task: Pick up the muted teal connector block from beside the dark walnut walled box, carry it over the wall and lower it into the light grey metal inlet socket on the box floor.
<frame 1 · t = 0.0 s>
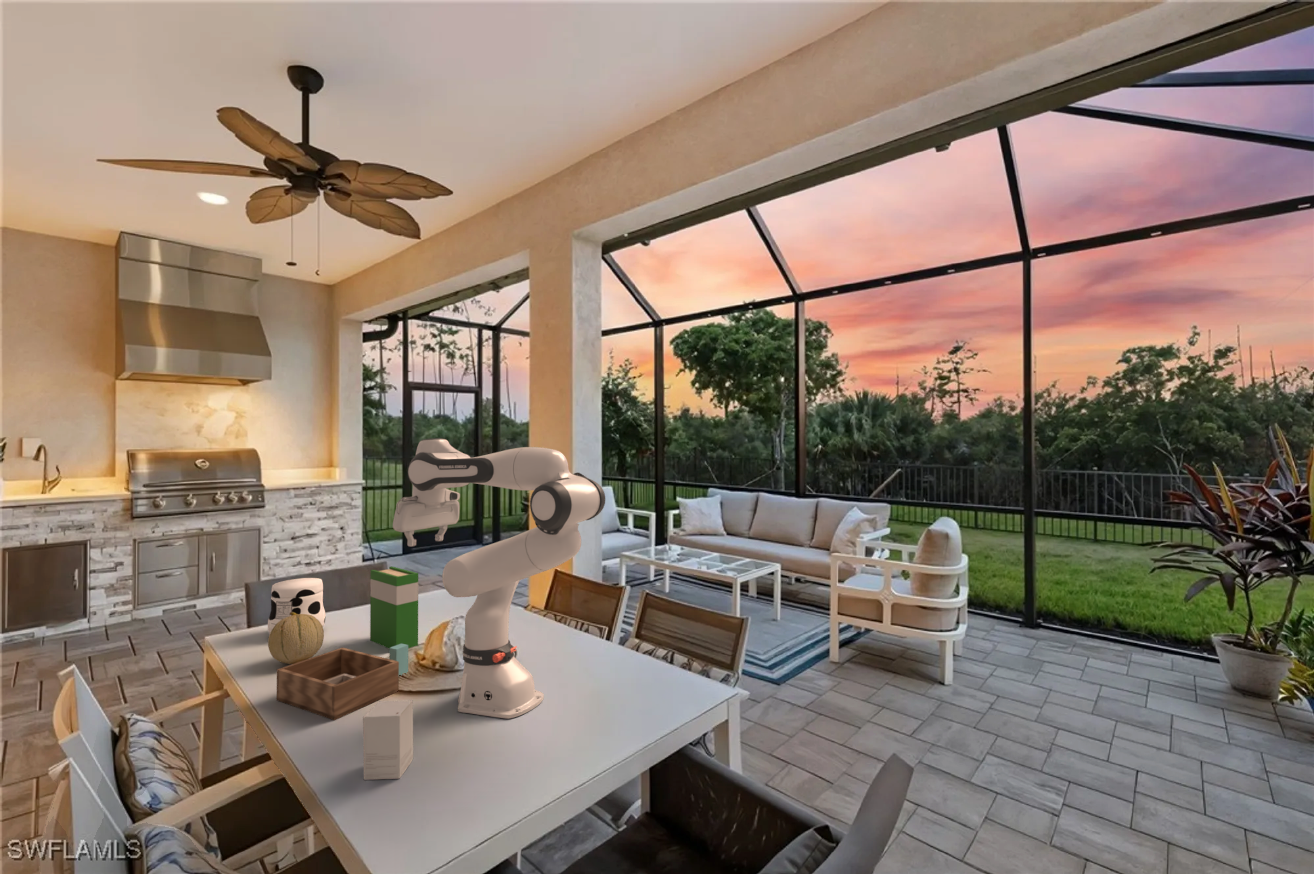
hand: (425, 543, 159), 39 cm above the table, tool pointing down, fingers open, 8 cm apart
cantaloupe: (296, 662, 173), on the table
supplement box: (388, 770, 115), on the table
hardback book: (393, 643, 190), on the table
milk container: (297, 634, 199), on the table
teal connector: (398, 673, 164), on the table
walled box: (338, 695, 149), on the table
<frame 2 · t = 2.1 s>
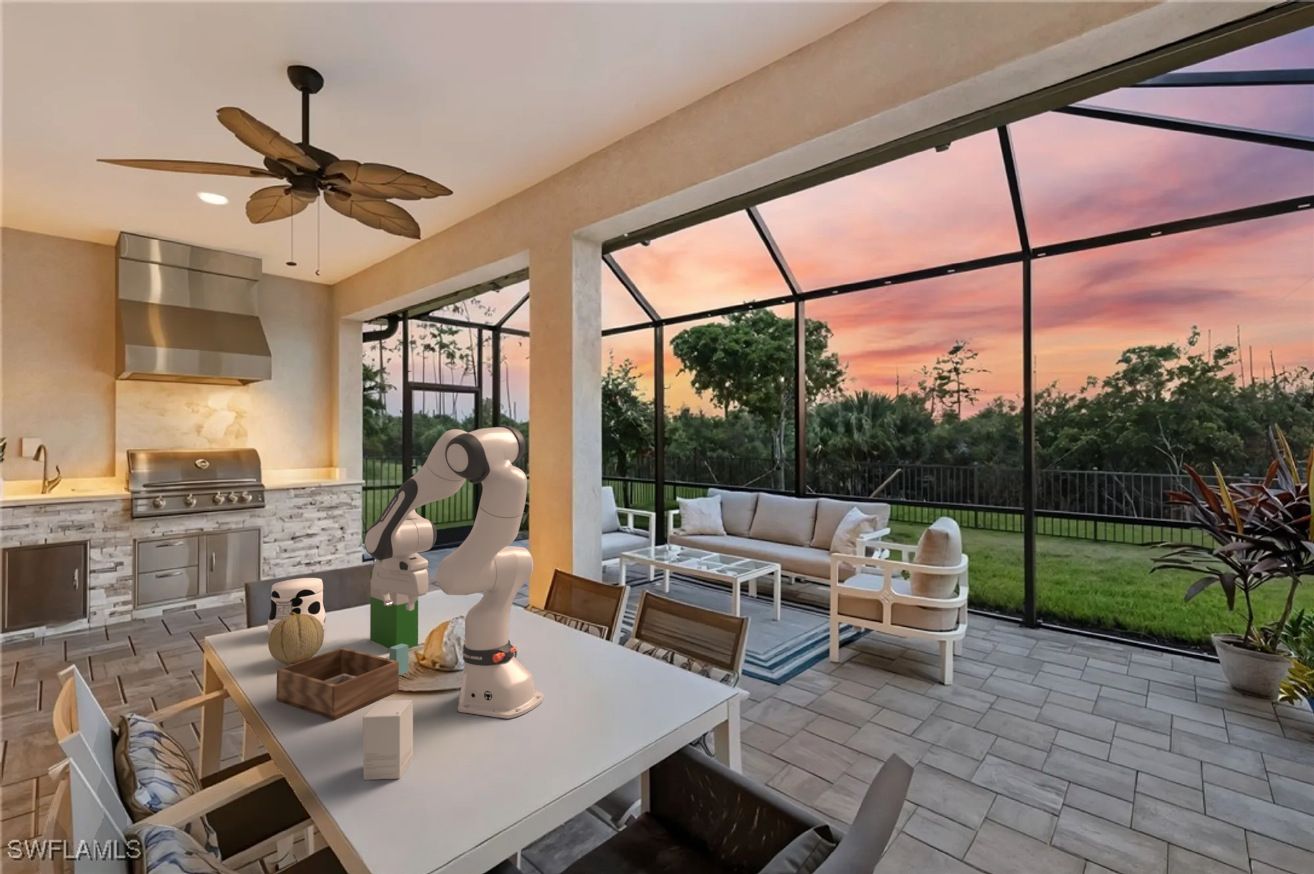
hand: (398, 607, 164), 19 cm above the table, tool pointing down, fingers open, 8 cm apart
nothing on the table moved.
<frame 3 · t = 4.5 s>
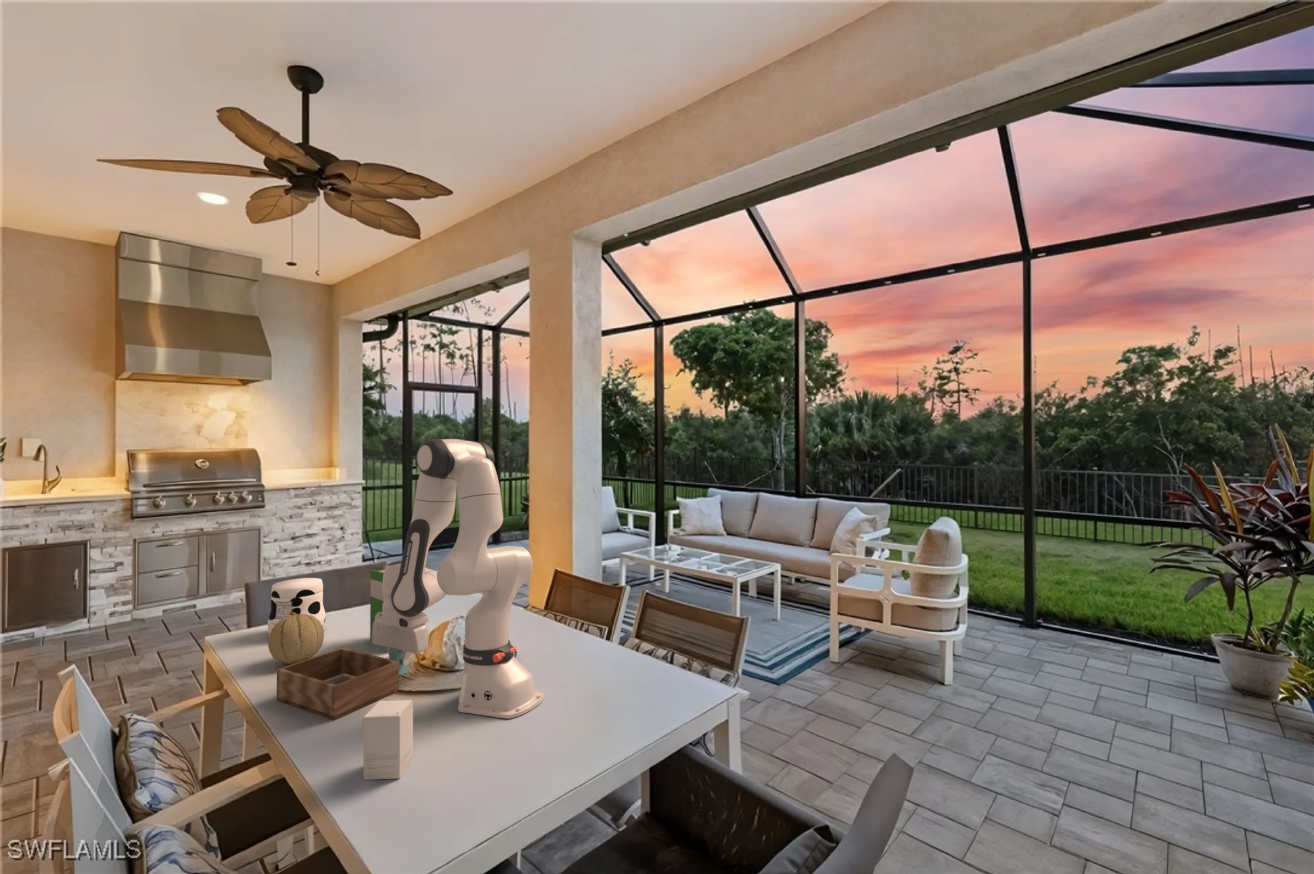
hand: (399, 663, 164), 3 cm above the table, tool pointing down, fingers closed on teal connector, 3 cm apart
teal connector: (398, 673, 164), on the table, touching gripper
everything else where it was.
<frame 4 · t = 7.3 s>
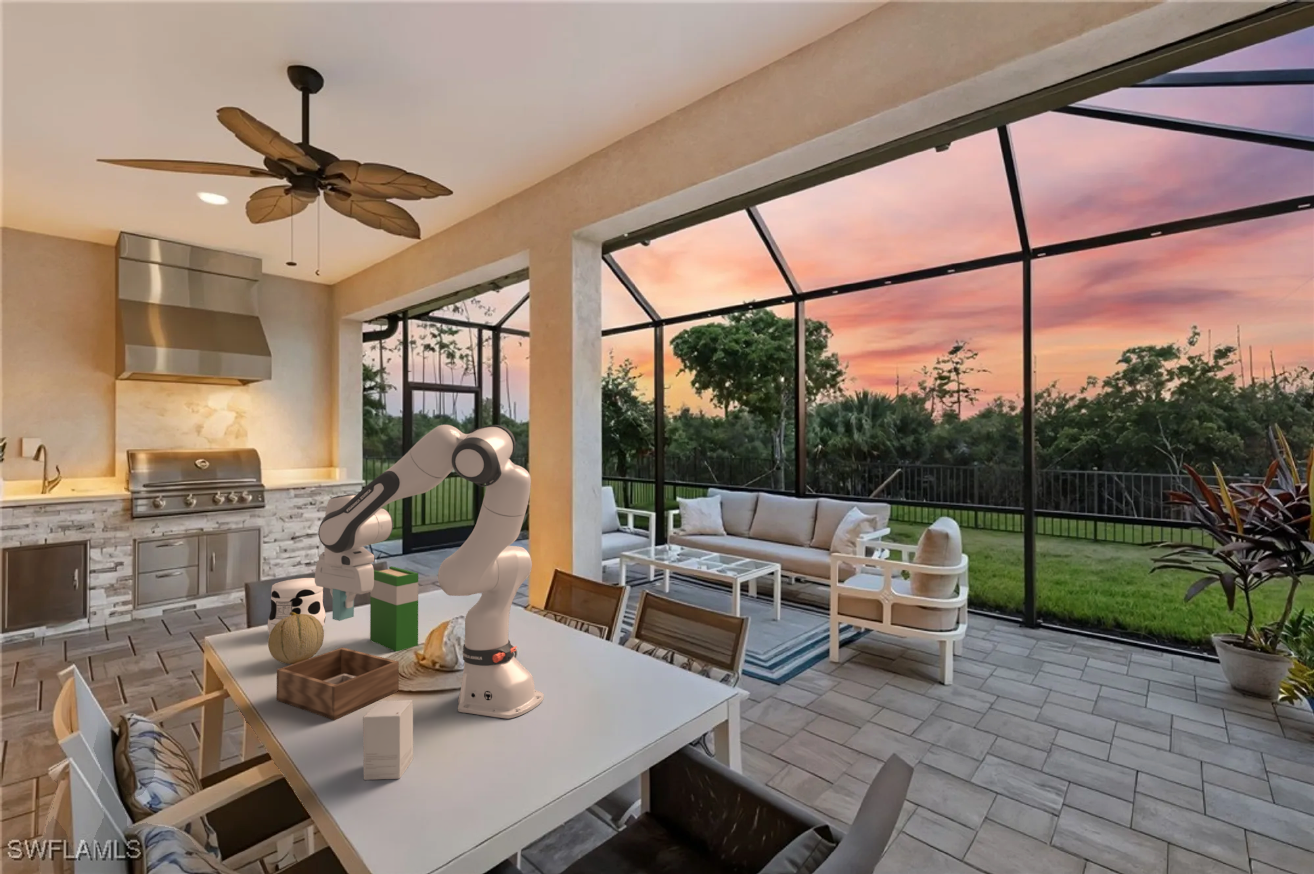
hand: (342, 606, 151), 23 cm above the table, tool pointing down, fingers closed on teal connector, 3 cm apart
teal connector: (343, 617, 151), point 20 cm above the table, touching gripper
everything else where it was.
when the fingers open (6 cm above the table, at t = 10.6 s): teal connector drops 1 cm, resting on walled box.
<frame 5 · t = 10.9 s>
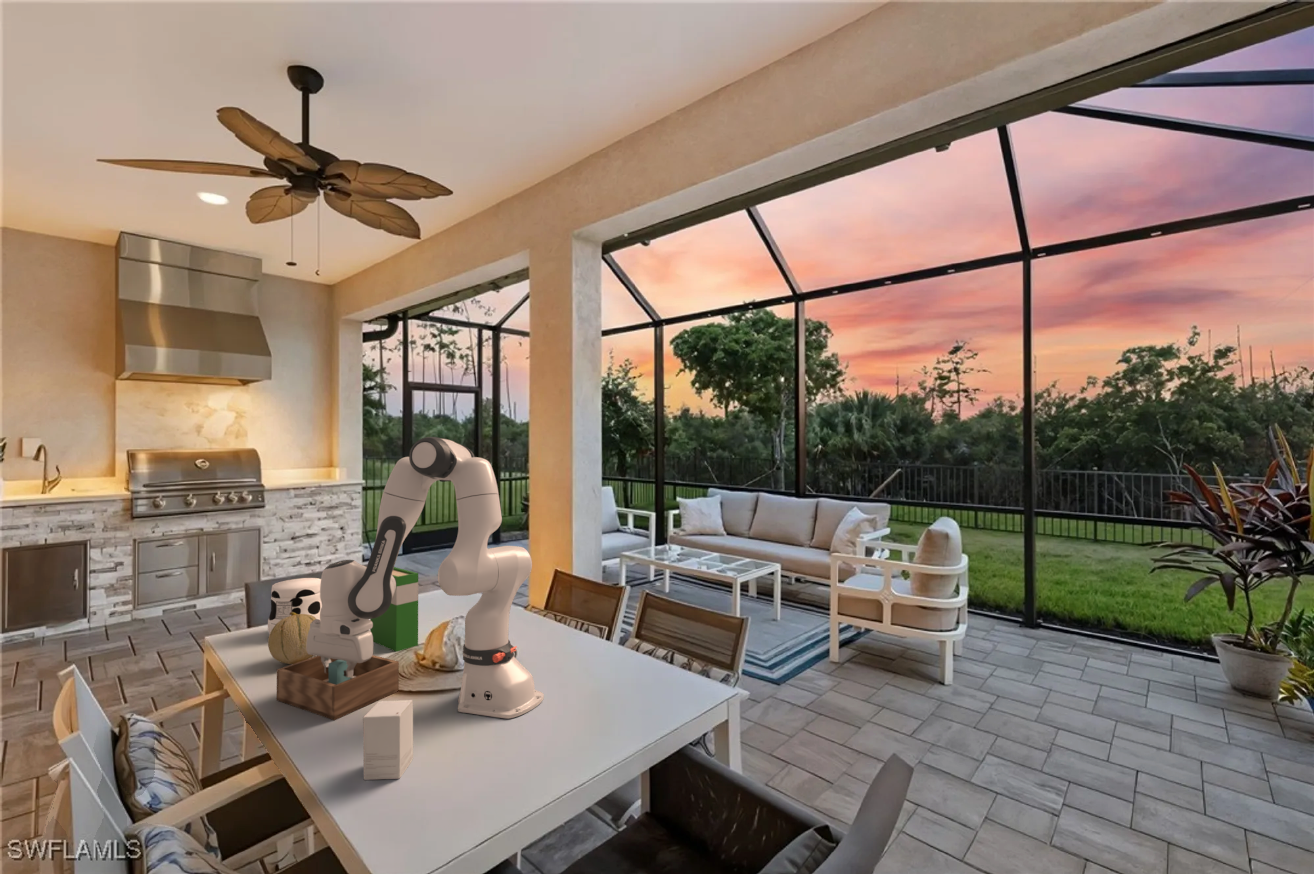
hand: (338, 674, 149), 6 cm above the table, tool pointing down, fingers open, 5 cm apart
teal connector: (339, 691, 149), point 1 cm above the table, touching walled box
everything else where it was.
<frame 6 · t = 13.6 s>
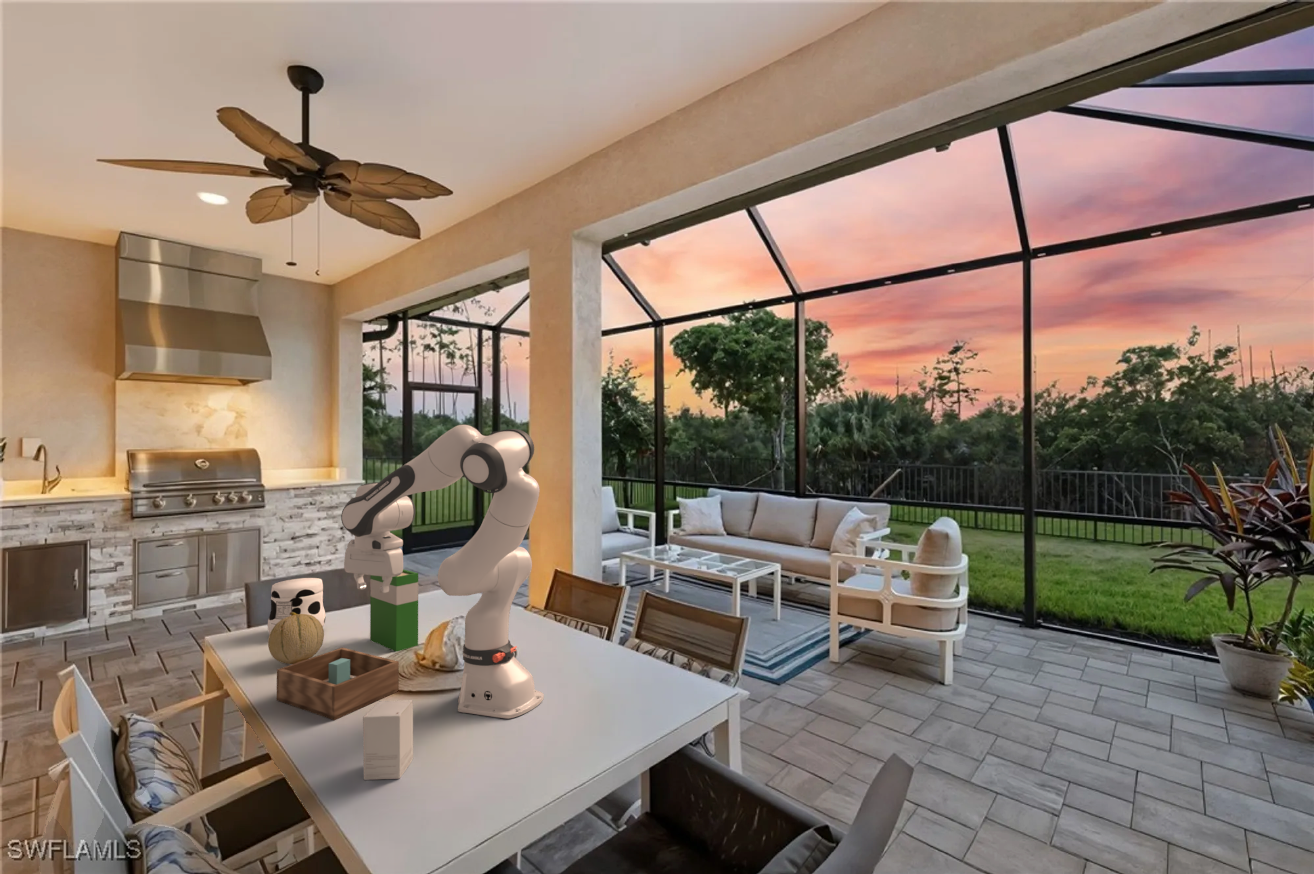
hand: (372, 590, 156), 26 cm above the table, tool pointing down, fingers open, 8 cm apart
nothing on the table moved.
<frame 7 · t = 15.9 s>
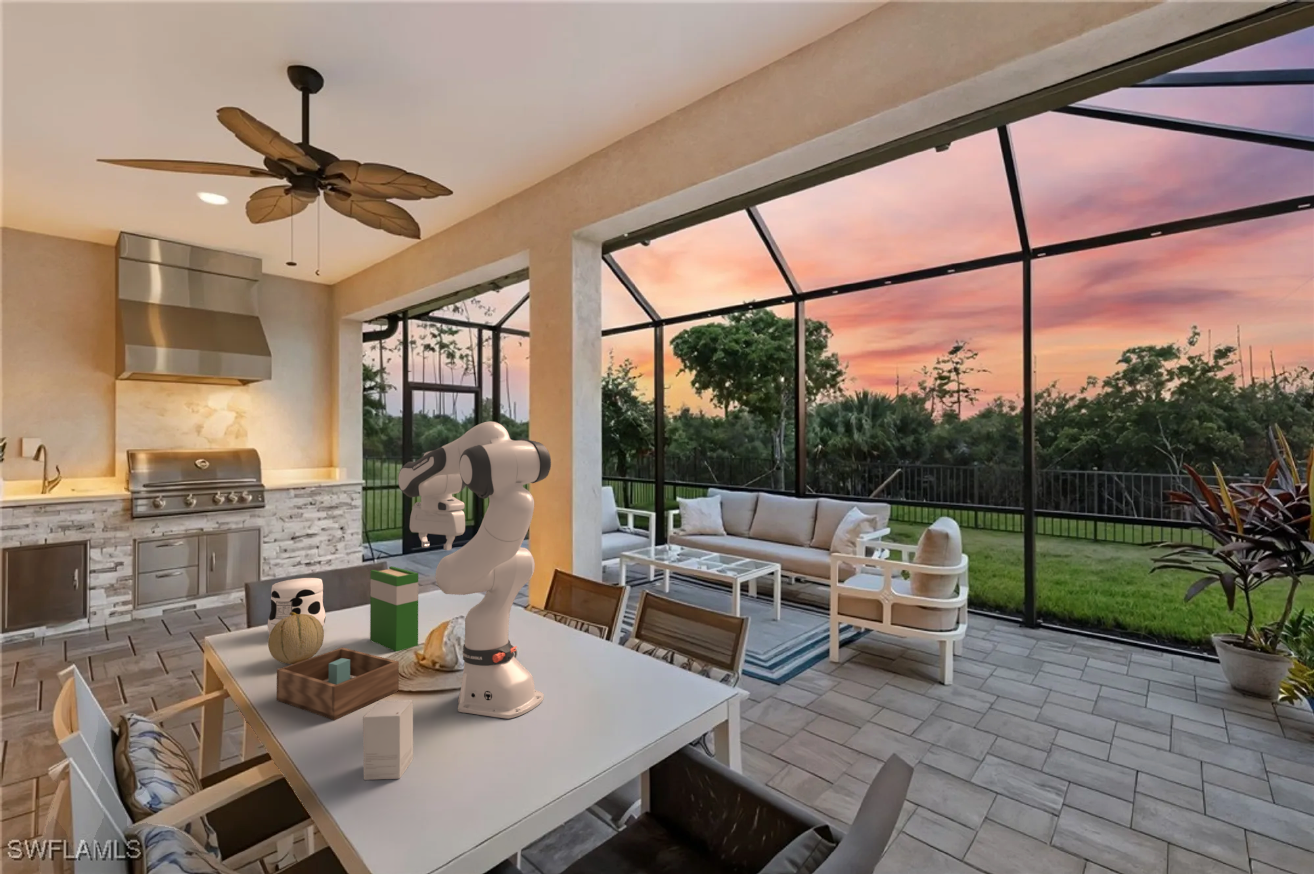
hand: (436, 548, 171), 35 cm above the table, tool pointing down, fingers open, 8 cm apart
nothing on the table moved.
at the end: teal connector 0.2 cm off-centre on the walled box, point 1.0 cm above the walled box's base; teal connector tilted 0°; the gripper is holding nothing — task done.
